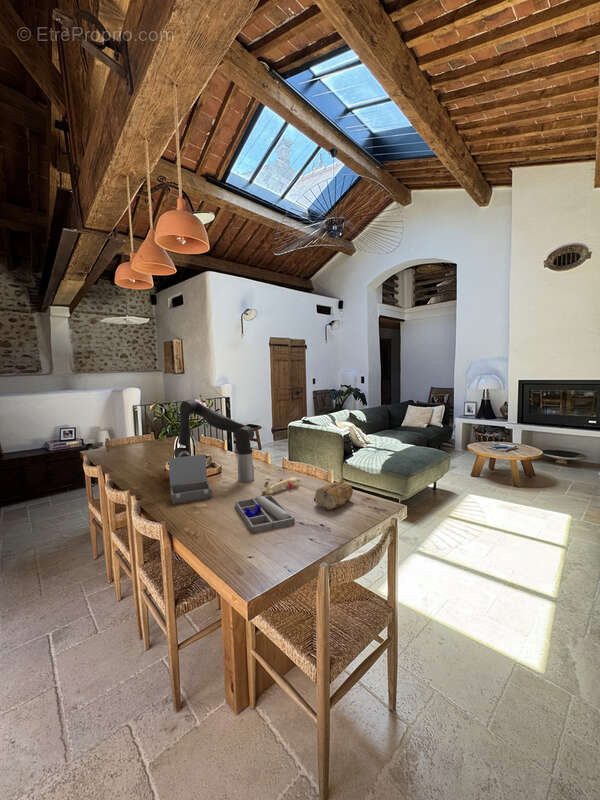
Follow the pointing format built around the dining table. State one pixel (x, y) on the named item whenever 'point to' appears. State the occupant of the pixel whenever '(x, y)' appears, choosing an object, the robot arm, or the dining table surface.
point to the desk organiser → (262, 515)
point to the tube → (272, 508)
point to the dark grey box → (190, 492)
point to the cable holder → (254, 512)
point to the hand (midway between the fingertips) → (187, 466)
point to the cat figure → (280, 485)
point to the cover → (187, 469)
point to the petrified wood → (333, 495)
